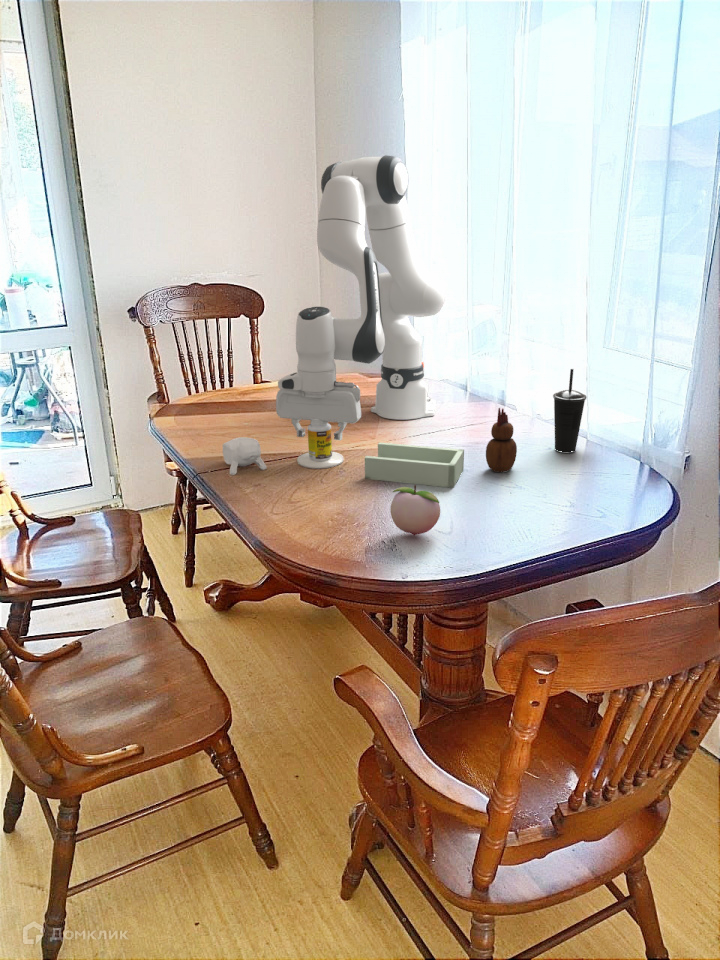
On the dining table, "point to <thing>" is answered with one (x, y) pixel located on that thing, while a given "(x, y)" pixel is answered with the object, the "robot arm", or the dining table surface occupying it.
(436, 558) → the dining table surface
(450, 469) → the green rectangular tray
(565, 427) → the drinking cup
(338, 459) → the white round disc
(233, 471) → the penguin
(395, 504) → the decorative fruit
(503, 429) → the wooden figurine
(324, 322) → the robot arm
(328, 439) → the supplement bottle
